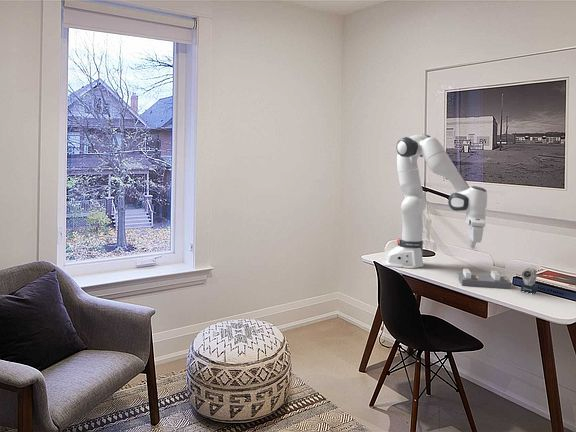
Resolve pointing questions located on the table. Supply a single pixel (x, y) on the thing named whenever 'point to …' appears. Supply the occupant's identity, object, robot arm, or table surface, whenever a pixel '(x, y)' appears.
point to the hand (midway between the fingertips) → (472, 247)
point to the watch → (529, 281)
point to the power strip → (484, 281)
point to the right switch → (495, 275)
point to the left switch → (467, 273)
